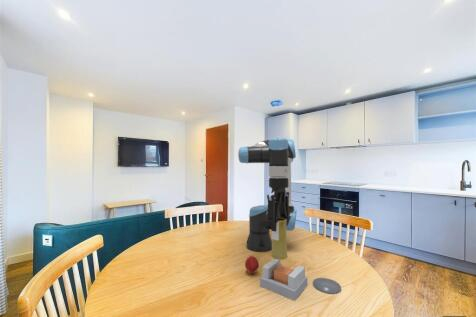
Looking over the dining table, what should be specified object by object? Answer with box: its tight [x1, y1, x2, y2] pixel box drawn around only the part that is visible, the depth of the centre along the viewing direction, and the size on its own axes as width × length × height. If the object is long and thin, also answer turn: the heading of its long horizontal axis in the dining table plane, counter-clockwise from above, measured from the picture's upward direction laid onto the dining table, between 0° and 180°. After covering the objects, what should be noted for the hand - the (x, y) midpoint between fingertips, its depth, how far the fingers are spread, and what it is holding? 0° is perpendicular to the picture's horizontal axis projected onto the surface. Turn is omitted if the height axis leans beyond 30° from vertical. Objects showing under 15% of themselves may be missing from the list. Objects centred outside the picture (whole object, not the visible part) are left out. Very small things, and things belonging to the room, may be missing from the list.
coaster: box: [312, 277, 342, 295], centre depth 80 cm, size 10×10×1 cm
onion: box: [244, 254, 260, 275], centre depth 89 cm, size 6×6×8 cm
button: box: [274, 264, 295, 285], centre depth 80 cm, size 6×6×4 cm
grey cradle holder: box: [259, 258, 308, 301], centre depth 80 cm, size 14×12×7 cm
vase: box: [270, 218, 288, 261], centre depth 80 cm, size 6×6×14 cm
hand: (279, 237), depth 80 cm, fingers closed on vase, 5 cm apart
